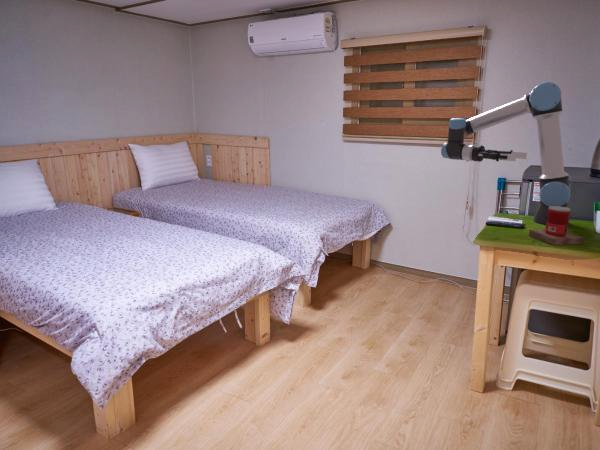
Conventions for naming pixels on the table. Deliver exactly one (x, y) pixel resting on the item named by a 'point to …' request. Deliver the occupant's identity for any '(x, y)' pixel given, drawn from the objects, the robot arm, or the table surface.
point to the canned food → (557, 220)
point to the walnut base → (556, 238)
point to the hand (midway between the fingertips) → (521, 156)
